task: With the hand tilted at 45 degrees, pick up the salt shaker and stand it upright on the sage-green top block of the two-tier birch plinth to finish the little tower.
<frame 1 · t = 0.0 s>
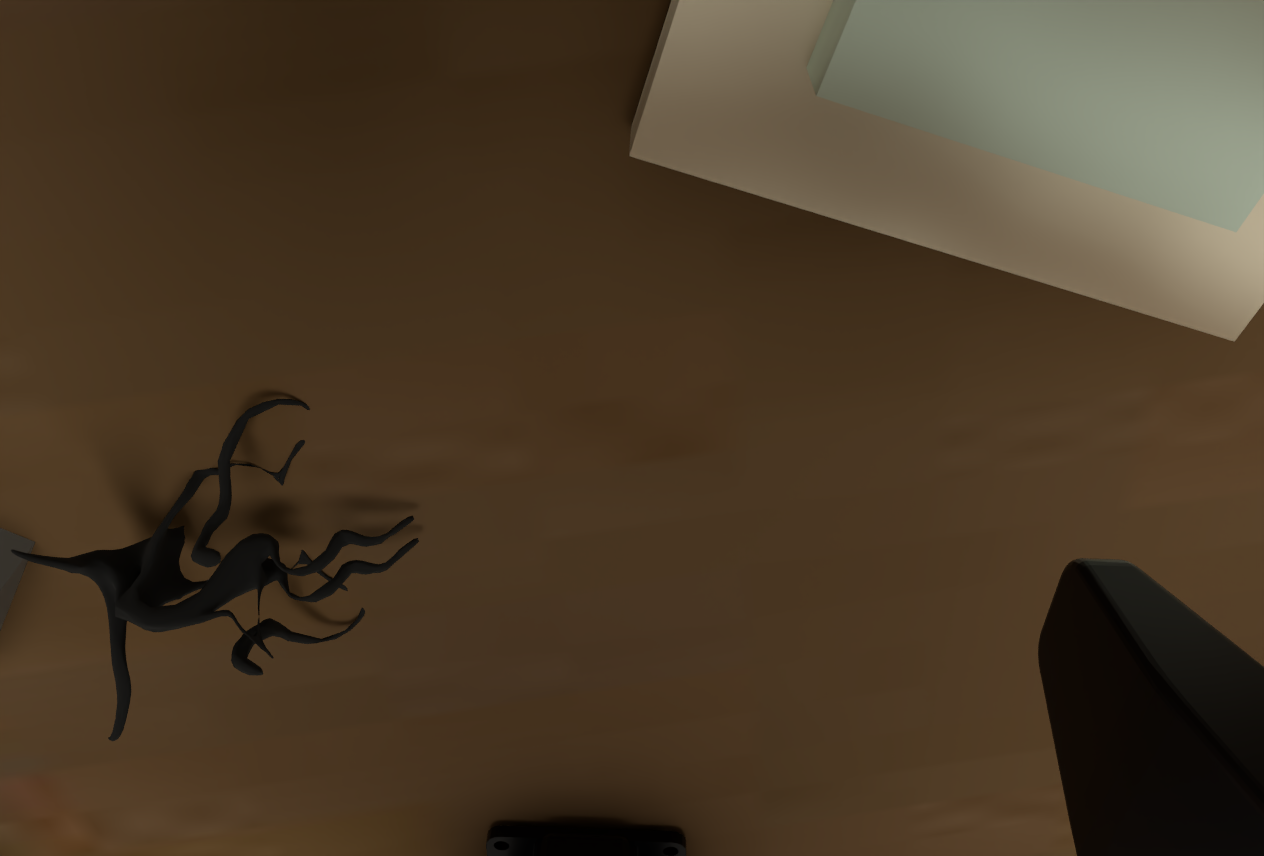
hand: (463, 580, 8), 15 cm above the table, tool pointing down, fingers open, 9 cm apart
creature: (281, 509, 27), on the table
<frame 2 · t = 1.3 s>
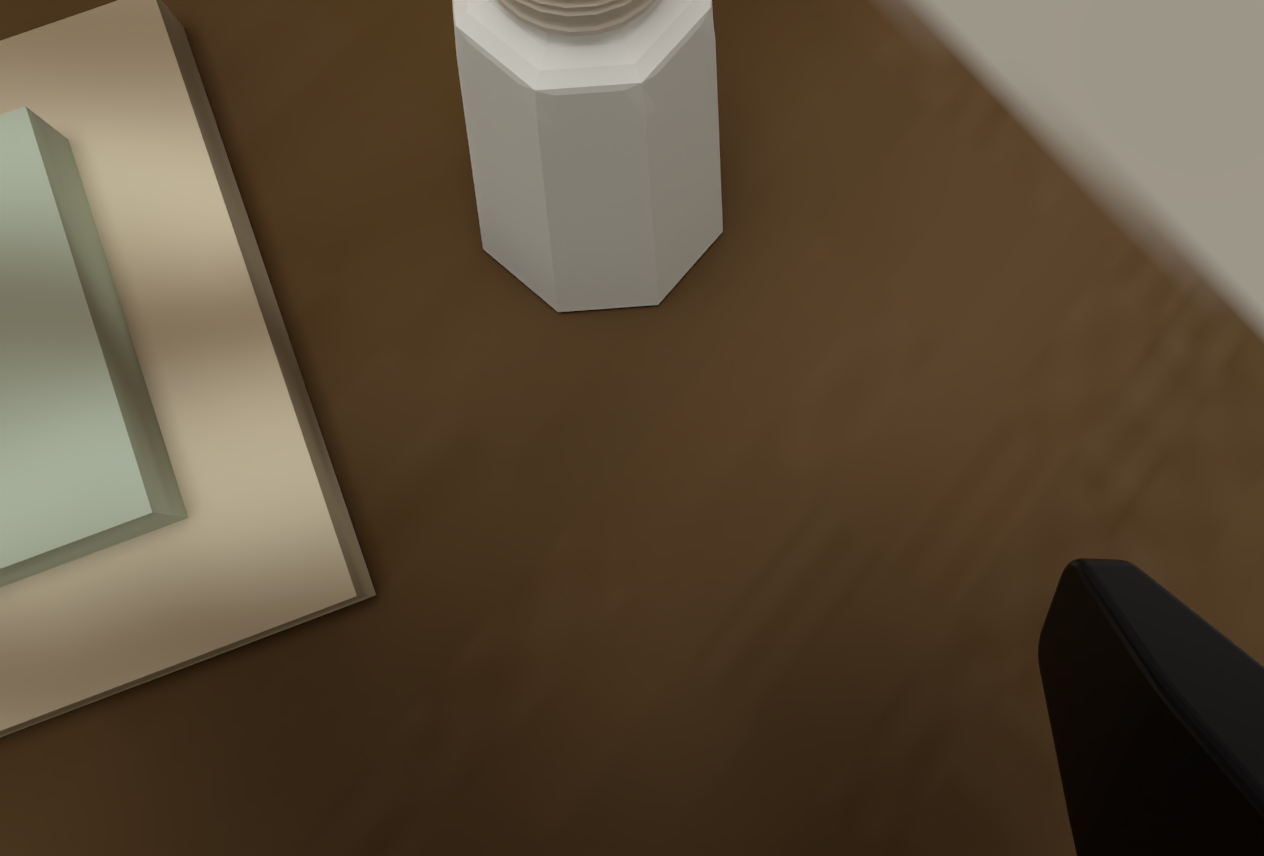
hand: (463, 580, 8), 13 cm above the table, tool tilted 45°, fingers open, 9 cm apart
salt shaker: (600, 198, 23), on the table
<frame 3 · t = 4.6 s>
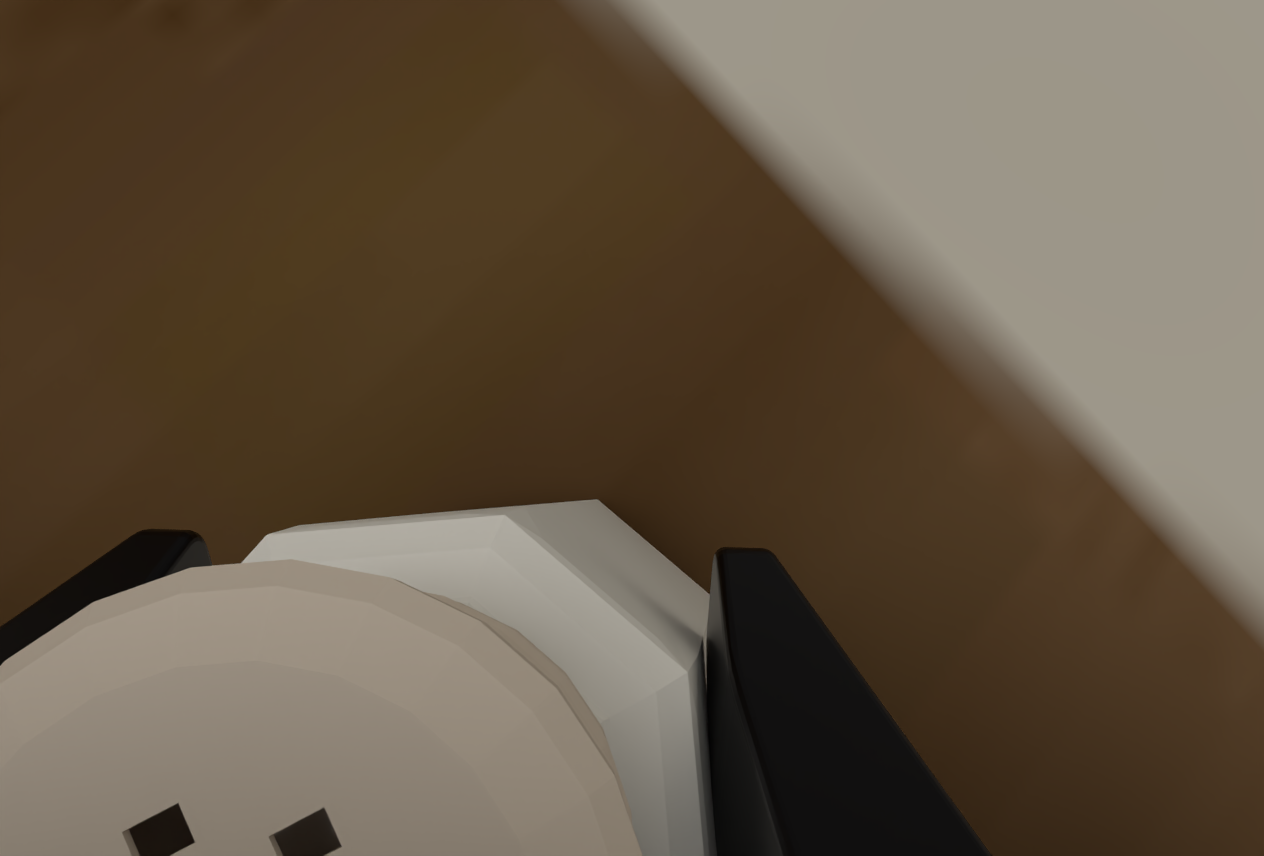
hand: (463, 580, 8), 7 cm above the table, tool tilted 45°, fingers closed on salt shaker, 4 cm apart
salt shaker: (536, 690, 14), on the table, touching gripper
when the fingers open (11 cm above the table, at t = 8.3 s): salt shaker stays where it is, resting on plinth.
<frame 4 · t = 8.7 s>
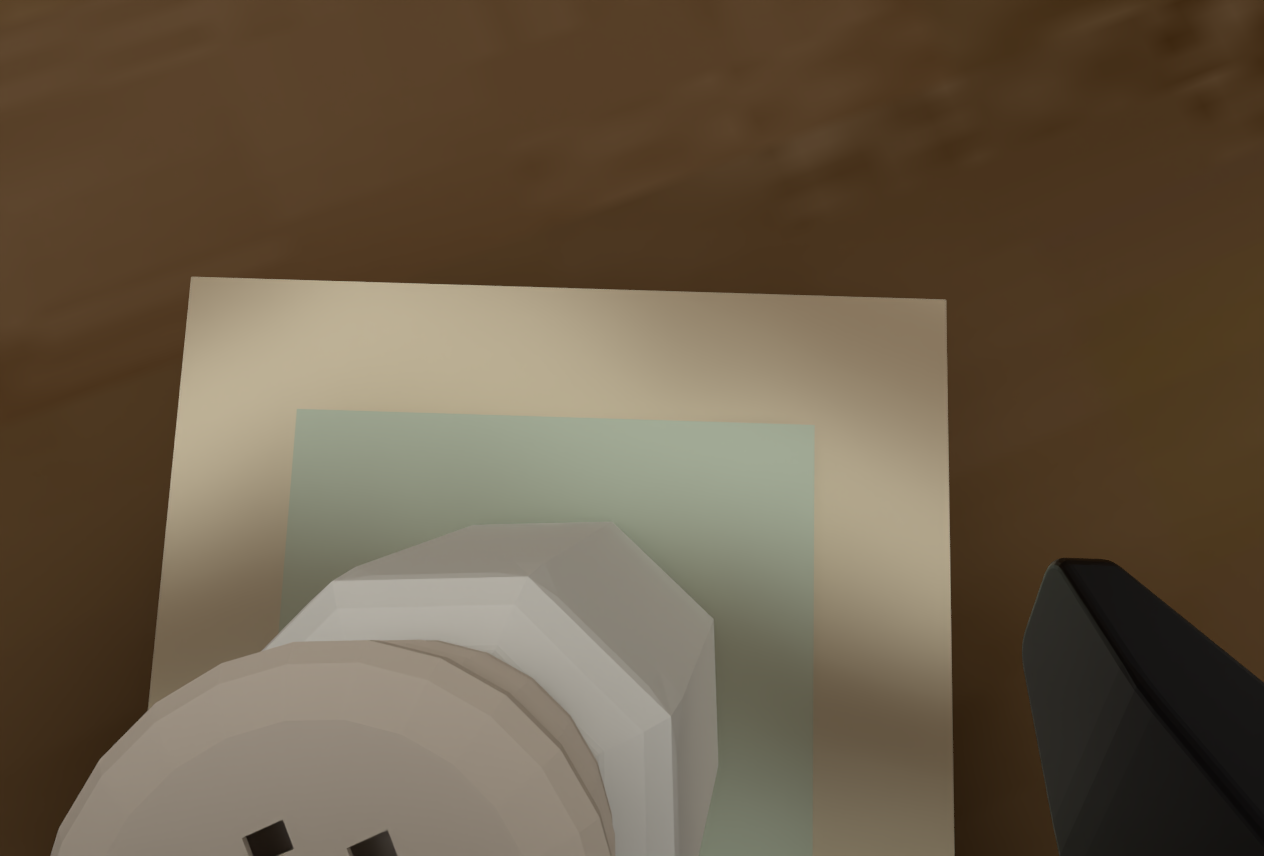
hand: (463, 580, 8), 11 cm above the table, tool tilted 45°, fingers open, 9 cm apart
salt shaker: (546, 692, 16), point 3 cm above the table, touching plinth
plinth: (557, 668, 19), on the table
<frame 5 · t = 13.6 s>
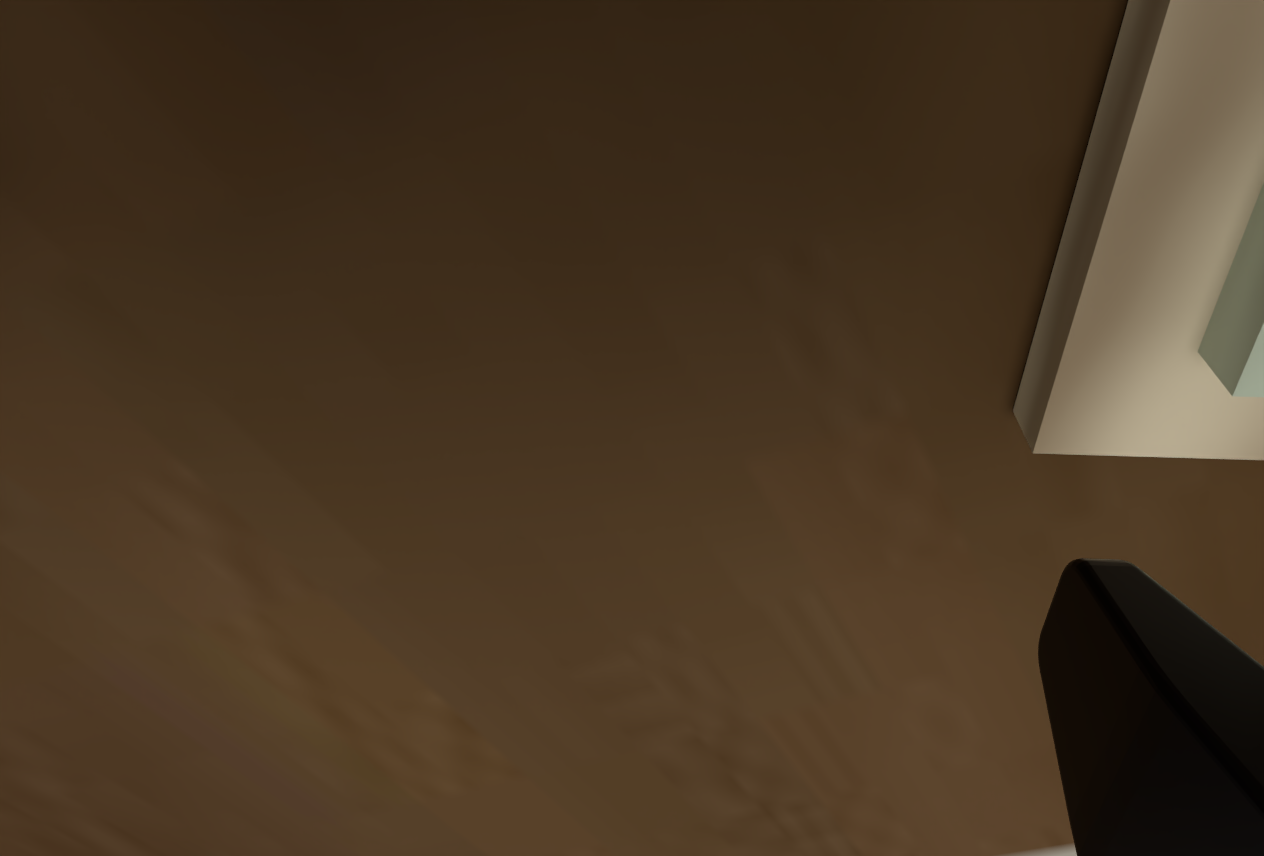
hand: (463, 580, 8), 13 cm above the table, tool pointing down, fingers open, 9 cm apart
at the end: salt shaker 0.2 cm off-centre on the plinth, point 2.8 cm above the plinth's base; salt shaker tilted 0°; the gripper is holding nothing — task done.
